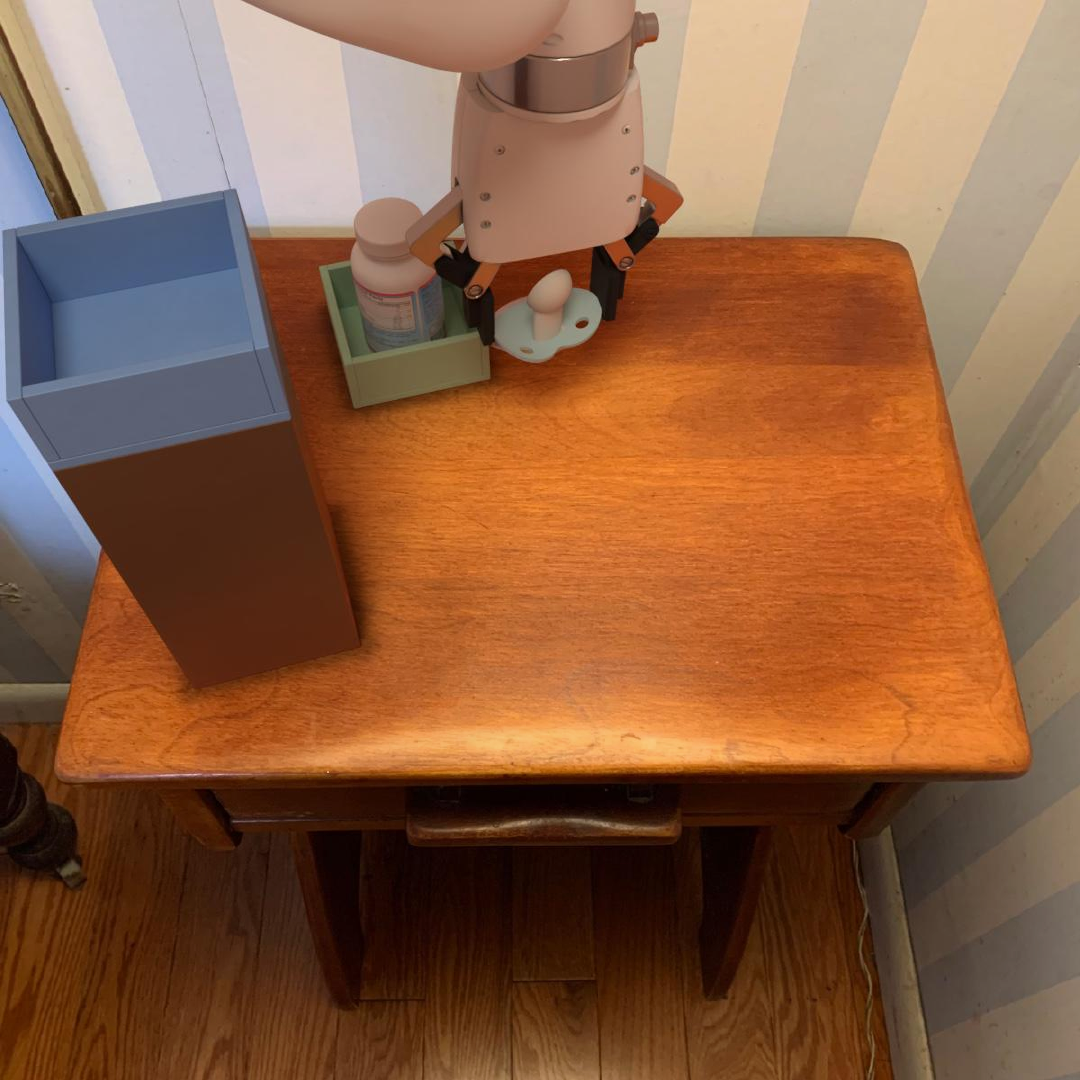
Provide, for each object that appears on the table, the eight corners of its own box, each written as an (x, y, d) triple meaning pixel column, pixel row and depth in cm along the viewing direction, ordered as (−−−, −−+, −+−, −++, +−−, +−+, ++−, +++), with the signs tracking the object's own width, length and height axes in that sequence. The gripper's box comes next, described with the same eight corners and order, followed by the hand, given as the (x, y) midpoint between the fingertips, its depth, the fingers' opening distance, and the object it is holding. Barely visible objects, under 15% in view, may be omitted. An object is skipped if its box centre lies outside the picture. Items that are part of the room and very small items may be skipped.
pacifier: (464, 332, 66) (518, 388, 63) (459, 254, 61) (517, 311, 58) (556, 288, 69) (611, 340, 66) (558, 209, 63) (618, 262, 61)
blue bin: (194, 690, 62) (5, 400, 40) (176, 552, 67) (1, 229, 45) (360, 647, 64) (269, 346, 41) (331, 516, 69) (235, 187, 47)
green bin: (354, 409, 74) (344, 365, 70) (328, 311, 79) (318, 266, 75) (490, 379, 76) (488, 335, 72) (456, 285, 81) (453, 239, 77)
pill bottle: (418, 299, 79) (403, 177, 70) (462, 346, 77) (453, 226, 67) (350, 333, 77) (325, 212, 68) (393, 382, 75) (373, 263, 65)
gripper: (691, -12, 54) (651, 255, 68) (361, 33, 50) (394, 303, 65) (748, 69, 50) (693, 333, 64) (394, 123, 46) (421, 388, 61)
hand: (543, 316), depth 65 cm, fingers closed on pacifier, 7 cm apart
